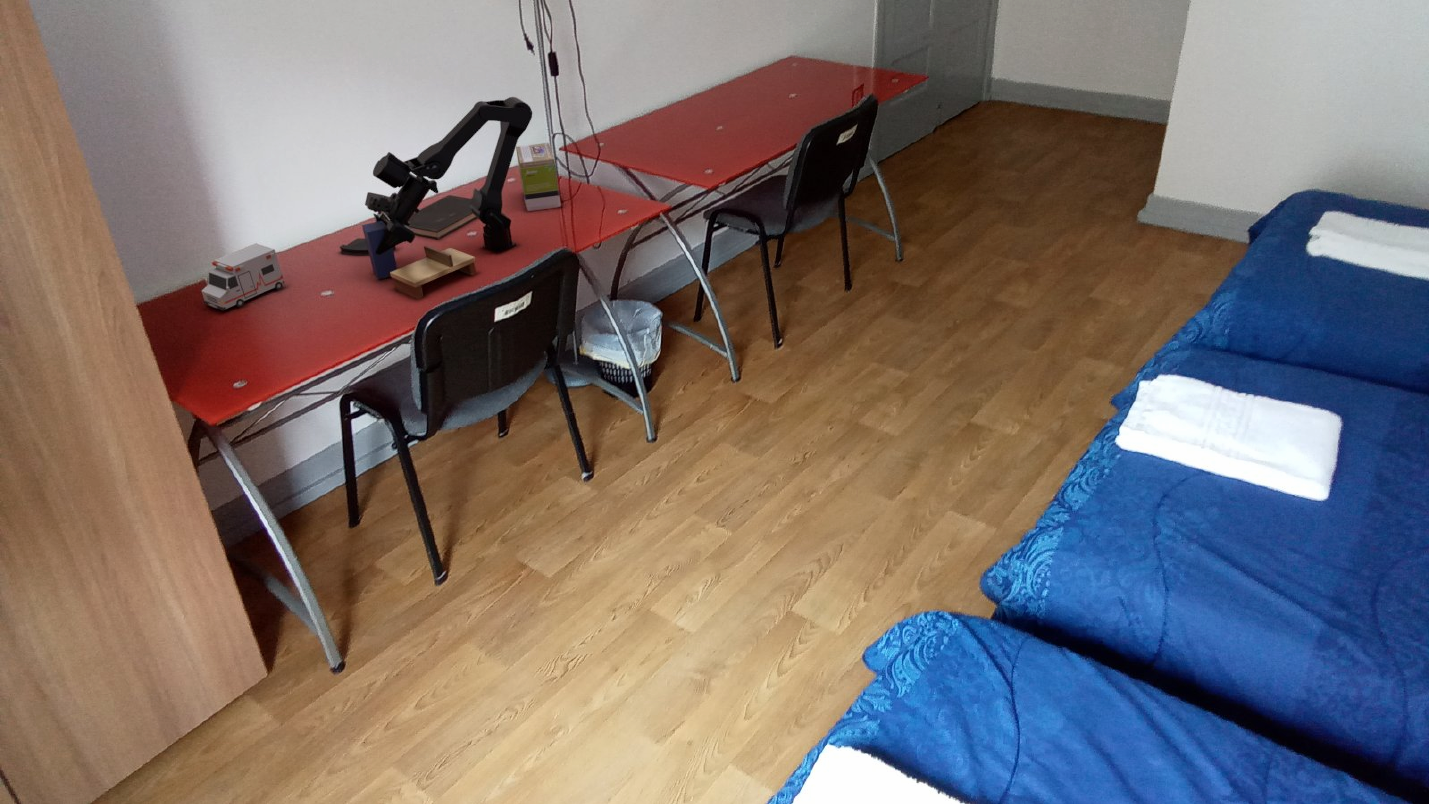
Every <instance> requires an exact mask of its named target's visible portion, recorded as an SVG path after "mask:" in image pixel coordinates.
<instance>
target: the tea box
mask: <svg viewBox="0 0 1429 804" xmlns="http://www.w3.org/2000/svg"><path fill="white" fill-rule="evenodd" d="M515 150H516V157H517V163H518V169H519V170H518V171H519V175H520V181H521V187H522V192H523V198H524V199H523V200H524V203H525V207H526V212H534V211H542V210H550V209H555V208H556V209H557V208H562V207H561V206H562V203H561V197H560V190H559V189H560V188H559V181H558V175H557V167H556V161H555V157H554V154H553V152H552V148H551V145H550V143H549V142H542V143H534V144H528V145H519V146H517V145H516V147H515Z"/></svg>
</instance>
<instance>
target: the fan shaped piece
mask: <svg viewBox="0 0 1429 804" xmlns="http://www.w3.org/2000/svg"><path fill="white" fill-rule="evenodd" d="M339 249H340V252H341V254H346V255H352V256H369V252H368V248H367V244H366V240H365V237H364V238H362V237H361V238H359V237H357V238H355V239H354V240H352V241H351V242H349V243H347V245H345V244H342V245H340V246H339ZM396 250H397V248H396V246H394V247H393V252H394V251H396Z"/></svg>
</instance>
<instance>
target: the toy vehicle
mask: <svg viewBox="0 0 1429 804" xmlns="http://www.w3.org/2000/svg"><path fill="white" fill-rule="evenodd" d="M211 264H212V266H214V267H216V268H213V269H211V270H208V277H205V278H204V281H205V284H206V286H205V287H204V288H203V289H201V294H202V298H203V304H205V305H208V306H209V307H212V308H215V309H218V310H220V311H225V310H227V309H229V308H232V307H234V306H236V307H238V308H243V306H244V305H245V301H248V300H249V299H252V298H254V297H257V296H259V295H261V294H264V293H265V292H267V291H270V290H273V289H275V290H278V291H281V290H282V289H283V286H284V284H285V279H284V276H283V273H282V269H281V266H280V262H279V260H278V256H277V252H276V249H275V248H272V247H268V246H265V245H263V244H260V243H257V242H255V243H253V244H250V245H248V246H245V247H243V248H241V249H237V250H235V251H233V252H230V253H228V254H226V255H223V256H221V257H218V258H216V259H213V261H212V262H211Z"/></svg>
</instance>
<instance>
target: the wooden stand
mask: <svg viewBox="0 0 1429 804" xmlns="http://www.w3.org/2000/svg"><path fill="white" fill-rule="evenodd" d="M423 250H424V254H425V257H424V258H422V259H419V260H417V261H414V262H411V263H410V264H407V265H405V266H402V267H399V268H397V270H395V271H392V272H390V275H391V276H390V277H391V278H392V280H393V284H394V289H395V291H399V292H400V293H402V294H405V295H407V296H410V297H412V298H414V299H416V300H419V299H422V298H424V293H423V292H424V291H423V289H422V288H423V287H422V285H424V284H427V283H430V282H432V281H435V280H436V279H439V278H440V277H443V276H446V275H448V274H449V273H453V272H455V271H459V272H461V273H464V274H467V275H469V276H474V275H476V274H477V270H476V263H475V262H476V260H477V259H476V256H473V255H471V254H468V253H466V252H462V251H460V250H458V249H454V248H452V247H448V248H446V249H443V250H440V249H437V248H434V247H432V246H430V245H423Z"/></svg>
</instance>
